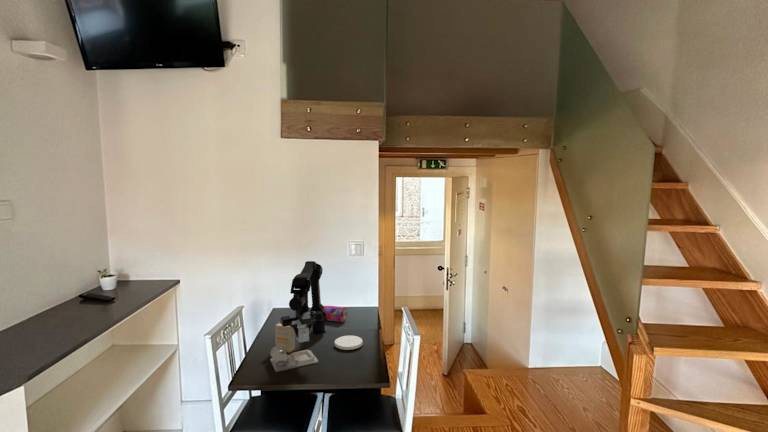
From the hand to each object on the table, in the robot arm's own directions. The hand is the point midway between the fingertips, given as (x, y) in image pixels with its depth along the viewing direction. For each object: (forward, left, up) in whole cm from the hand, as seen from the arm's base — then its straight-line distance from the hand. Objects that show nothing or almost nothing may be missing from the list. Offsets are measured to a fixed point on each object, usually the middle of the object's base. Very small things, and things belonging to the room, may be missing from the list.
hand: (302, 336), depth 176 cm
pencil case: (-28, -44, -12) cm, 54 cm away
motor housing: (+4, 0, -11) cm, 12 cm away
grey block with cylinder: (0, 0, -1) cm, 1 cm away
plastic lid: (-25, -5, -12) cm, 28 cm away
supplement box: (+5, -14, -11) cm, 19 cm away
